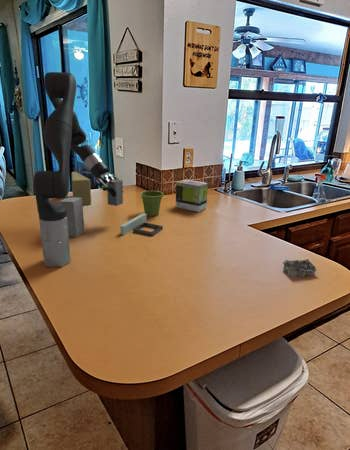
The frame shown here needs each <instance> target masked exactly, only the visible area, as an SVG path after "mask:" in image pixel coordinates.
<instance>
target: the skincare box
mask: <svg viewBox="0 0 350 450" xmlns="http://www.w3.org/2000/svg"><path fill="white" fill-rule="evenodd" d="M59 205H60V206H63V207H65V208H66V211H67V222H68V235H69V237H71V238H74V237H75V238H78V237H79V236H80V235H81V234H84V232H85V221H84V210H83V206H82V198H78V197H73V196H67V197H66V198H62V200H60V201H59Z"/></svg>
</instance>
